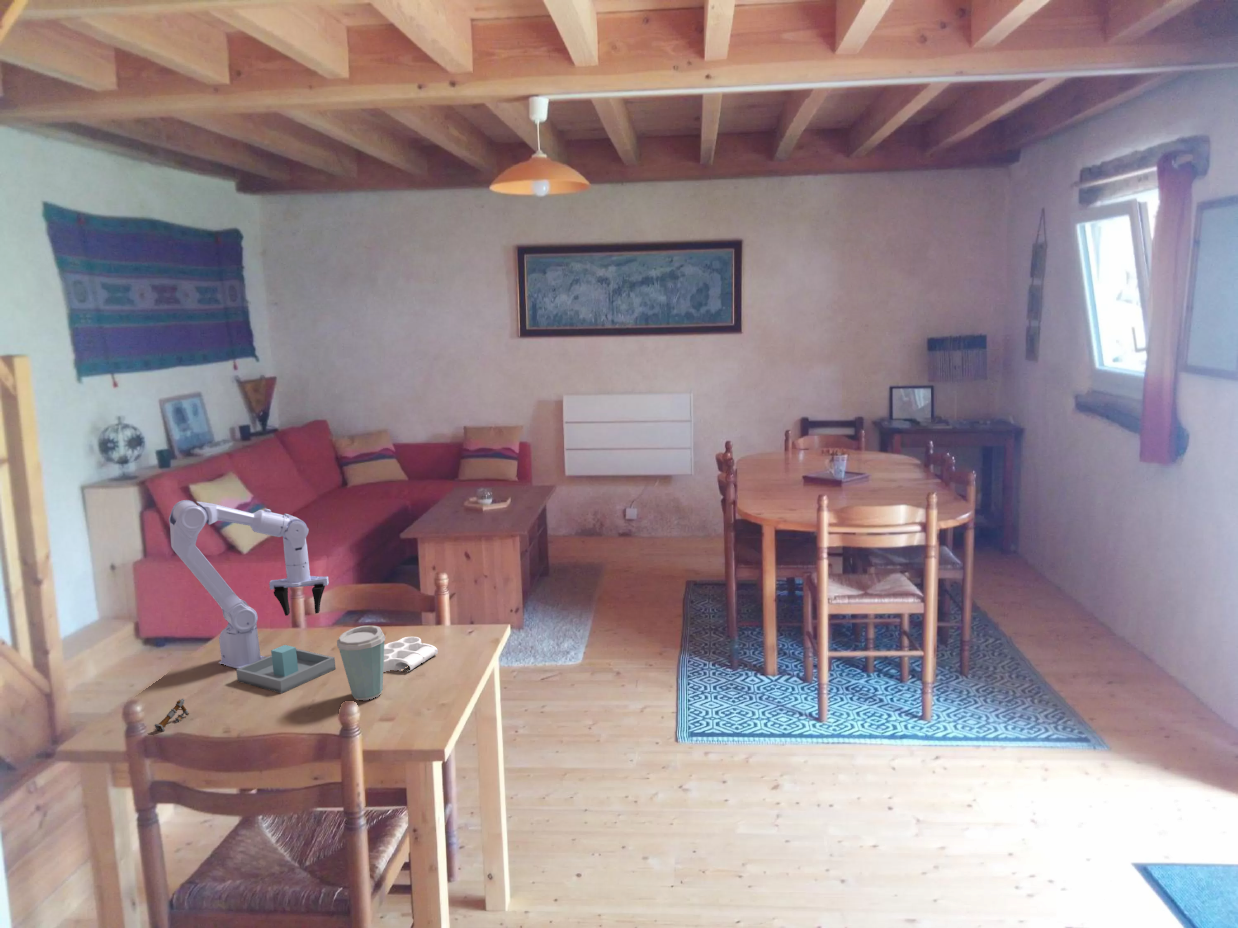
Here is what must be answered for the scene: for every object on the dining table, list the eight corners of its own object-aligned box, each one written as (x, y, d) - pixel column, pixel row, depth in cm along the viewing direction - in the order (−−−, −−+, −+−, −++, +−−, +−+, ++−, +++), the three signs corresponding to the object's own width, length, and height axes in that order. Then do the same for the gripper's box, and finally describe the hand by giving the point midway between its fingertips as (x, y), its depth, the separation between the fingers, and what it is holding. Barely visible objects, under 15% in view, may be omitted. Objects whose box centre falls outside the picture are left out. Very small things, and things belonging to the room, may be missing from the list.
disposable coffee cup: (372, 707, 203) (366, 642, 201) (331, 702, 207) (325, 638, 205) (399, 688, 213) (394, 626, 211) (360, 683, 217) (354, 622, 214)
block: (273, 673, 223) (271, 650, 222) (287, 668, 227) (284, 644, 226) (284, 676, 221) (282, 652, 220) (298, 670, 224) (295, 647, 223)
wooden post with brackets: (194, 710, 204) (185, 696, 201) (169, 739, 198) (160, 725, 195) (187, 710, 204) (179, 695, 202) (163, 738, 198) (153, 724, 196)
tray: (237, 681, 222) (236, 669, 221) (292, 658, 235) (290, 647, 234) (281, 693, 213) (280, 680, 213) (335, 668, 227) (334, 657, 226)
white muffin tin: (403, 679, 219) (353, 672, 225) (445, 652, 236) (398, 646, 241) (401, 666, 219) (352, 659, 225) (444, 639, 235) (397, 634, 241)
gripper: (263, 569, 234) (269, 620, 236) (322, 565, 235) (327, 616, 238) (271, 561, 241) (277, 611, 243) (328, 557, 242) (333, 607, 244)
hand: (302, 613), depth 241 cm, fingers open, 7 cm apart
